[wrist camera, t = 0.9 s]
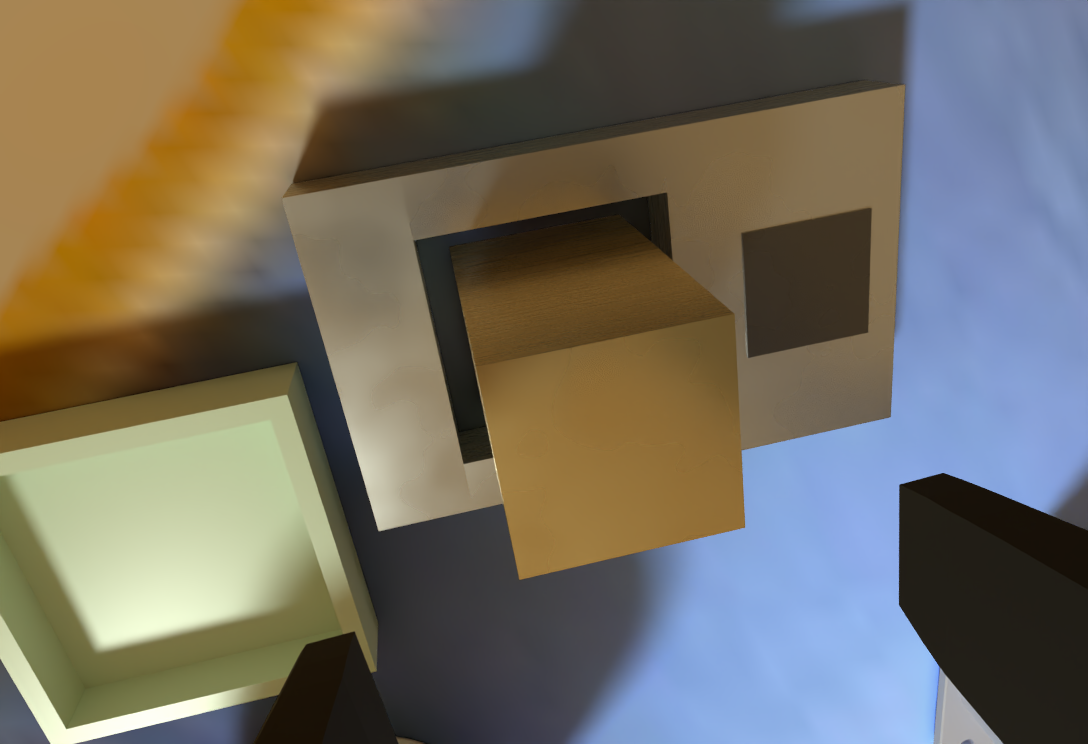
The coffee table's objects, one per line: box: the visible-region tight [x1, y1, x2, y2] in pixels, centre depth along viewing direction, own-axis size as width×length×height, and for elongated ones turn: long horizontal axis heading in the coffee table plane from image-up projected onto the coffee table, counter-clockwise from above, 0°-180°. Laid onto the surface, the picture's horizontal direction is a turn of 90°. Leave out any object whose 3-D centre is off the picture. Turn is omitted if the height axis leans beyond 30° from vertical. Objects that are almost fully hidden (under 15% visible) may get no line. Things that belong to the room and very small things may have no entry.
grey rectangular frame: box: [282, 80, 905, 531], centre depth 18 cm, size 13×8×2 cm, turn 98°
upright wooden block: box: [449, 214, 745, 580], centre depth 16 cm, size 4×4×7 cm
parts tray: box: [0, 362, 378, 744], centre depth 19 cm, size 8×8×2 cm
